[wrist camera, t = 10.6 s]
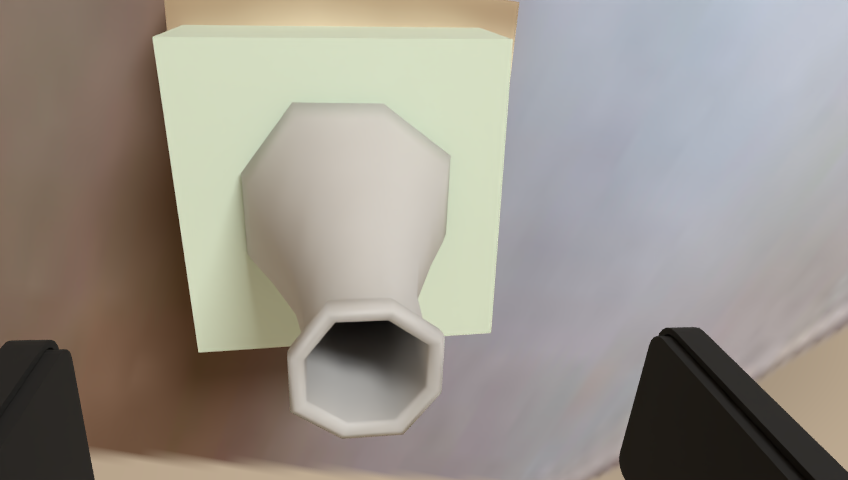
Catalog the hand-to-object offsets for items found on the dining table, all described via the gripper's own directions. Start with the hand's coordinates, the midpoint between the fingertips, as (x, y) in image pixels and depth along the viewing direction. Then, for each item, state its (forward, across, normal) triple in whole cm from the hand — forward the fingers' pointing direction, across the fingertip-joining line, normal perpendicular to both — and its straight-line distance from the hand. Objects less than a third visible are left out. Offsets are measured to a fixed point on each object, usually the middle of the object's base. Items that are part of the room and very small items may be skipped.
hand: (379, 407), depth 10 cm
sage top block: (+16, 0, +1) cm, 16 cm away
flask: (+12, 0, +1) cm, 12 cm away
